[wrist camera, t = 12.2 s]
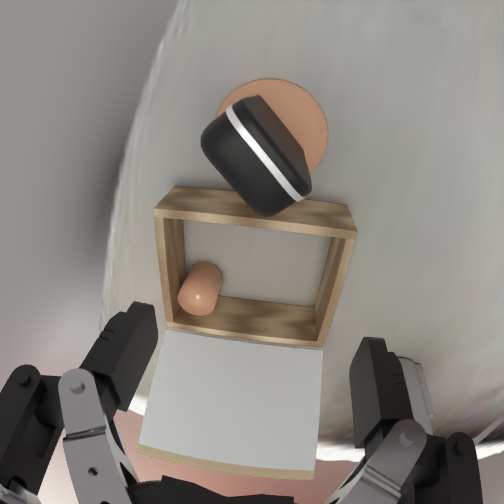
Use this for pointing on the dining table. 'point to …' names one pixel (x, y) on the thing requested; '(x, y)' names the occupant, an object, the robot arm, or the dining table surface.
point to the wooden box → (241, 310)
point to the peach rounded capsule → (200, 289)
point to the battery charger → (257, 156)
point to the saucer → (290, 114)
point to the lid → (234, 407)
